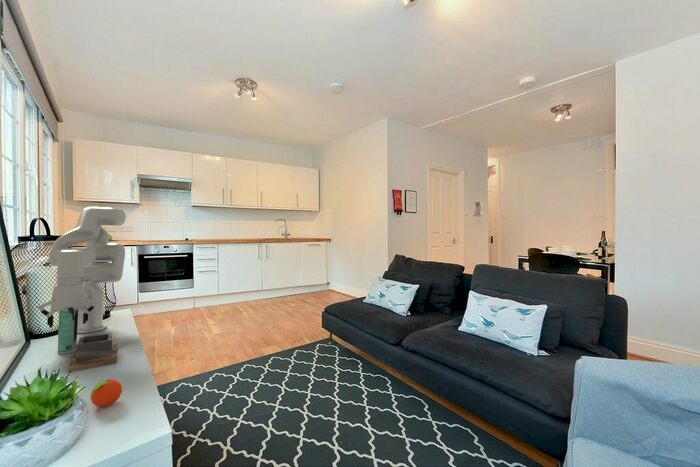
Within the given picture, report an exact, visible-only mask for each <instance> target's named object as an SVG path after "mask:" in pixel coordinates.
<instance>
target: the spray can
mask: <svg viewBox="0 0 700 467" xmlns="http://www.w3.org/2000/svg"><path fill="white" fill-rule="evenodd" d="M77 327H78V310H74V309H73V307H72V308H71V307H67V308H63V310H62V311H60V312H58V334H57V336H58V337H57V338H58V340H57V353H58V354H60V355H63V354H64V355H65V354H70V353H74V351H75V349H77V343H78V333H77Z"/></svg>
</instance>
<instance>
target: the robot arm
mask: <svg viewBox="0 0 700 467" xmlns="http://www.w3.org/2000/svg"><path fill="white" fill-rule="evenodd" d="M126 219H127V218H126V213H125V211H124V210H123V209H121V208H115V207H114V208H113V207H100V206H88V207H85V208H83V209H82V210H81V212H80V215H79V217H78V220H77V223H76V225H75V227H74V229H72V230H70V231H67V232H65V233H64V234H63V235H61V236H59V237H58V238H56V240H55V241H54V243H53V244H52V247H51V249H50V252H49V255H48V262H49V264H50V265H51V266H53V267H57V269H56V271H57V272H56V284H55V285H54V286H53V289H52V294H51V299H50V300H47V301H46V302H44V303H41V304H40V305H38V306H37V309H38V310H39V312H40V313H41V314H42V315H44V316H45V317H46V318H47V320H46V322H47V323H46V325H47V326H49V328H53V327H54V314H55V313H57V312H58V313H59V312H60V311H62V310H63V308H67V307H71V308H72V307H73V309H74V310H78V327H77V334H88V333H94V332H98V331H102V330H104V329H106V328H107V324H106V323H104V322H103V321H104V319H103V318H104V316H103V315H104V294H105V292H104V289H103V288H102V287H101V286H100V285H99V284H102V283H103V284H105V283H110V284H111V283H117V282H120V280H121V279H122V277H123V274H124V273H123V272H124V265H125V258H126V248H125V246H124V245H123V244H122V243H118V242H109V240H110V234H109V232H108V231H107V230H106V228H104V227H103V226H116V227H117V226H122V225H123V224H124V223H125V221H126ZM83 243H85V247H84V248H83V247H82V248H78V247H77V248H76V247H75V248H74V247H73V246H75V245H78V244H83ZM69 247H70V248H69ZM72 247H73V248H72ZM49 306H50V310H47V309H45V308H46V307H49Z"/></svg>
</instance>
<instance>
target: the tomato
mask: <svg viewBox="0 0 700 467" xmlns="http://www.w3.org/2000/svg"><path fill="white" fill-rule="evenodd" d="M122 392H123V387H122V384H121V382H119V381H118V380H117V379H114V378H113V379H112V378H109V379H105V380H101V381H100V382H99V383H97V384H96V385H95V386H94V387H93V388H92V391H91V393H90V401H91V403H92V404H93V405H94V406H96V407H99V408H106V407H109V406H112V405H114V404H115V403H116V402H117V401H118V400H119V399H120V397H121V395H122Z"/></svg>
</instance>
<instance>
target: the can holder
mask: <svg viewBox="0 0 700 467" xmlns="http://www.w3.org/2000/svg"><path fill="white" fill-rule="evenodd" d="M117 350H118V342H115V343H113V332H107V333H100V334H92V335H86V336H85V335H84V336H79V338H78V339H77V349H75V351H74V352H73V354H72V358H71V360H70V363H69V366H68V368H67V369H68V371H67V372H68V373H71V372H70V371H72V372H77V371H82V370H87V369H93V368H98V367H99V368H100V367H103V366H109V365H115V364H117V358H118V355H117V354H118V351H117Z"/></svg>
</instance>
